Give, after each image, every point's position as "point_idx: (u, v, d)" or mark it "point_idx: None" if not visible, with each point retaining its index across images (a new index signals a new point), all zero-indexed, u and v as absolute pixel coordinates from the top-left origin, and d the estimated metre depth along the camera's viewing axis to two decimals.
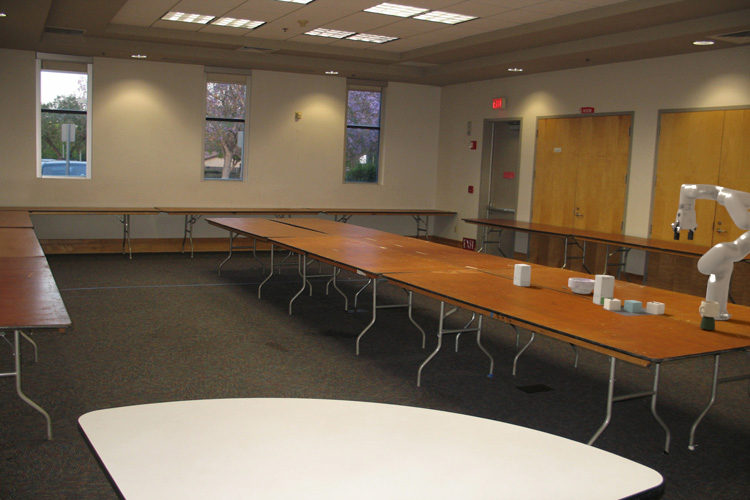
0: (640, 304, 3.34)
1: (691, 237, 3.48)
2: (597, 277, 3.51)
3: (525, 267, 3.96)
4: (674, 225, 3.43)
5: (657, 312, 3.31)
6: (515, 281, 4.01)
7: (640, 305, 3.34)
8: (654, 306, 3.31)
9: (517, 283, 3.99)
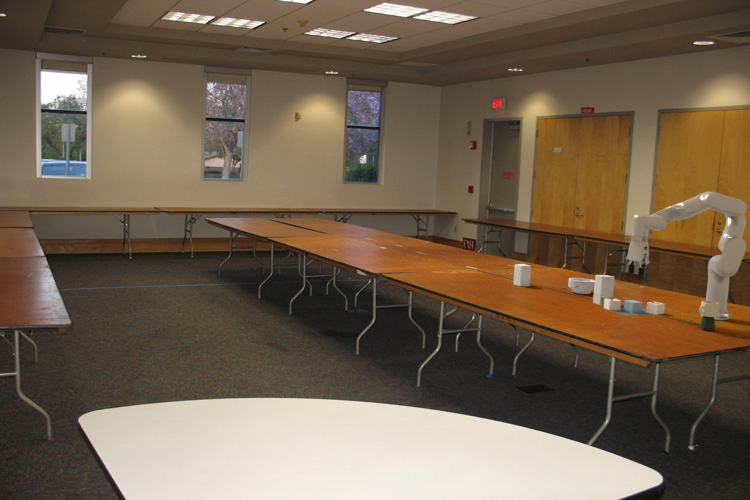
0: (640, 304, 3.34)
1: (633, 270, 3.37)
2: (597, 277, 3.51)
3: (525, 267, 3.96)
4: None
5: (657, 312, 3.31)
6: (515, 281, 4.01)
7: (640, 305, 3.34)
8: (654, 306, 3.31)
9: (517, 283, 3.99)
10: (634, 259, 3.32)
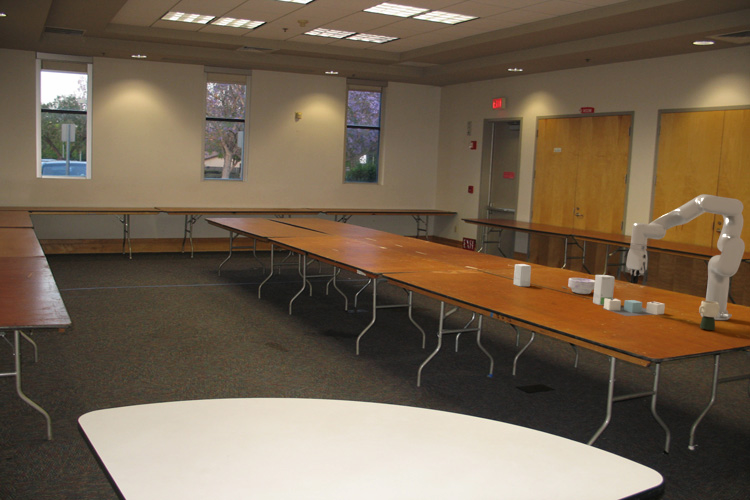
0: (640, 304, 3.34)
1: None
2: (597, 277, 3.51)
3: (525, 267, 3.96)
4: None
5: (657, 312, 3.31)
6: (515, 281, 4.01)
7: (640, 305, 3.34)
8: (654, 306, 3.31)
9: (517, 283, 3.99)
10: (632, 267, 3.33)
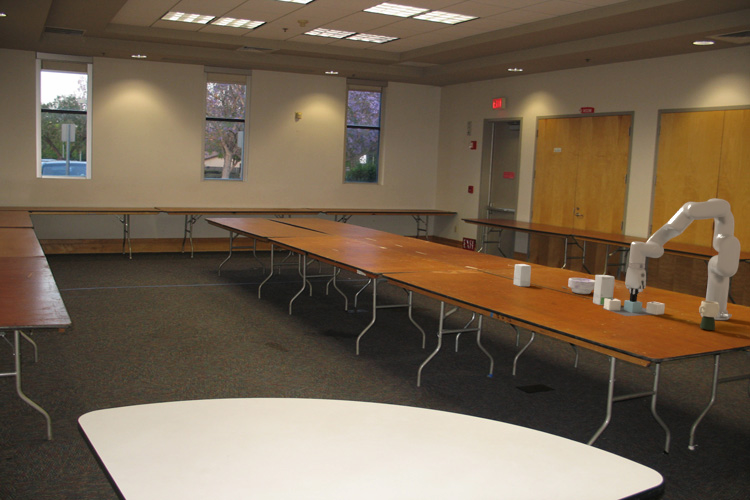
0: (640, 304, 3.34)
1: None
2: (597, 277, 3.51)
3: (525, 267, 3.96)
4: None
5: (657, 312, 3.31)
6: (515, 281, 4.01)
7: (640, 305, 3.34)
8: (654, 306, 3.31)
9: (517, 283, 3.99)
10: (631, 286, 3.34)
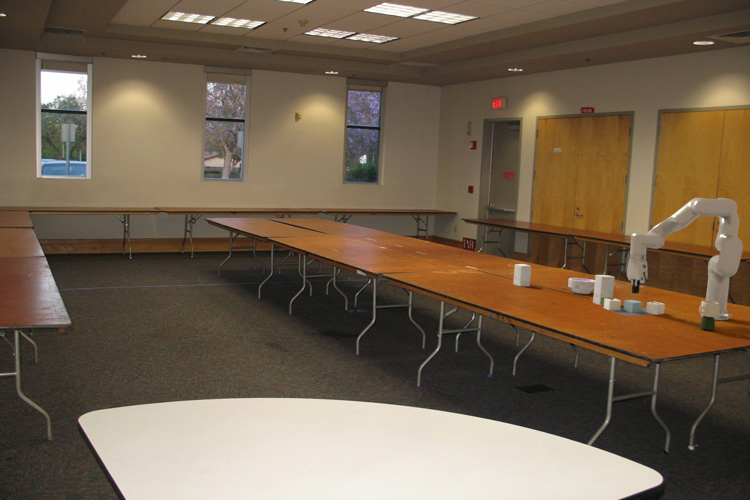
0: (640, 304, 3.34)
1: None
2: (597, 277, 3.51)
3: (525, 267, 3.96)
4: None
5: (657, 312, 3.31)
6: (515, 281, 4.01)
7: (640, 305, 3.34)
8: (654, 306, 3.31)
9: (517, 283, 3.99)
10: (633, 277, 3.33)
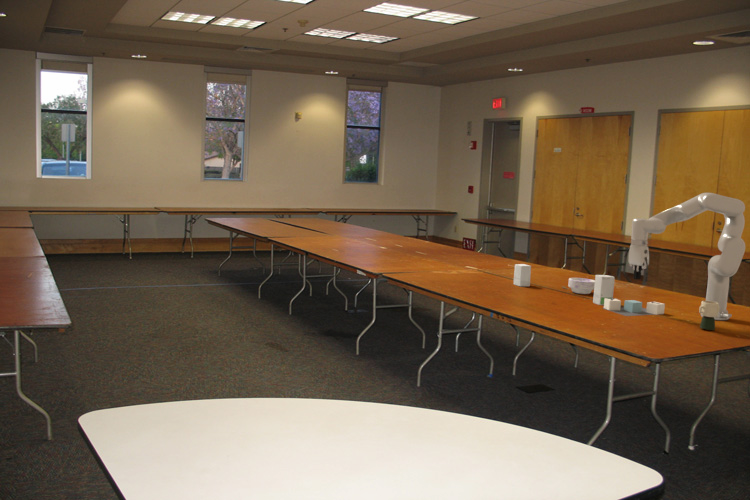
0: (640, 304, 3.34)
1: None
2: (597, 277, 3.51)
3: (525, 267, 3.96)
4: None
5: (657, 312, 3.31)
6: (515, 281, 4.01)
7: (640, 305, 3.34)
8: (654, 306, 3.31)
9: (517, 283, 3.99)
10: (635, 263, 3.32)
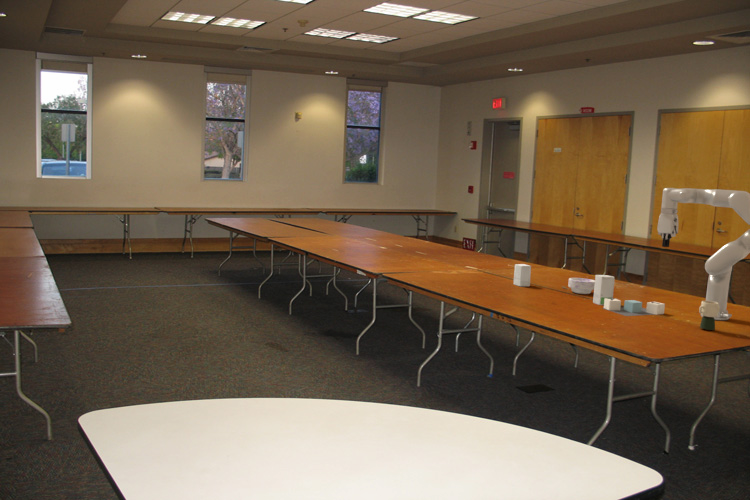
0: (640, 304, 3.34)
1: None
2: (597, 277, 3.51)
3: (525, 267, 3.96)
4: None
5: (657, 312, 3.31)
6: (515, 281, 4.01)
7: (640, 305, 3.34)
8: (654, 306, 3.31)
9: (517, 283, 3.99)
10: (664, 231, 3.42)
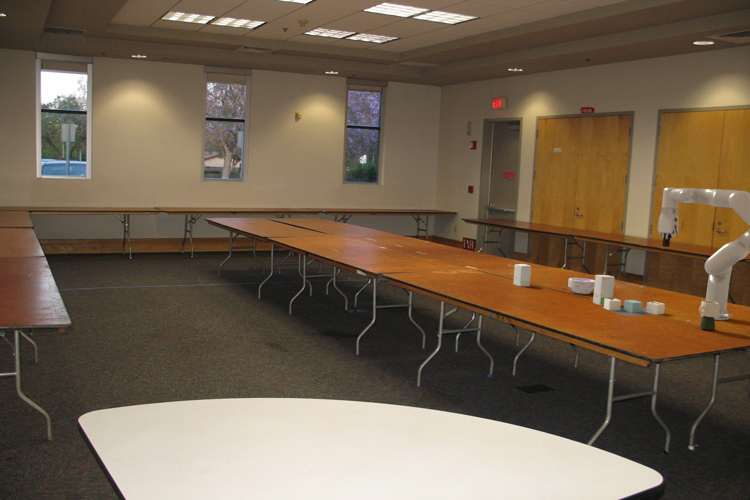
0: (640, 304, 3.34)
1: None
2: (597, 277, 3.51)
3: (525, 267, 3.96)
4: None
5: (657, 312, 3.31)
6: (515, 281, 4.01)
7: (640, 305, 3.34)
8: (654, 306, 3.31)
9: (517, 283, 3.99)
10: (664, 231, 3.42)
